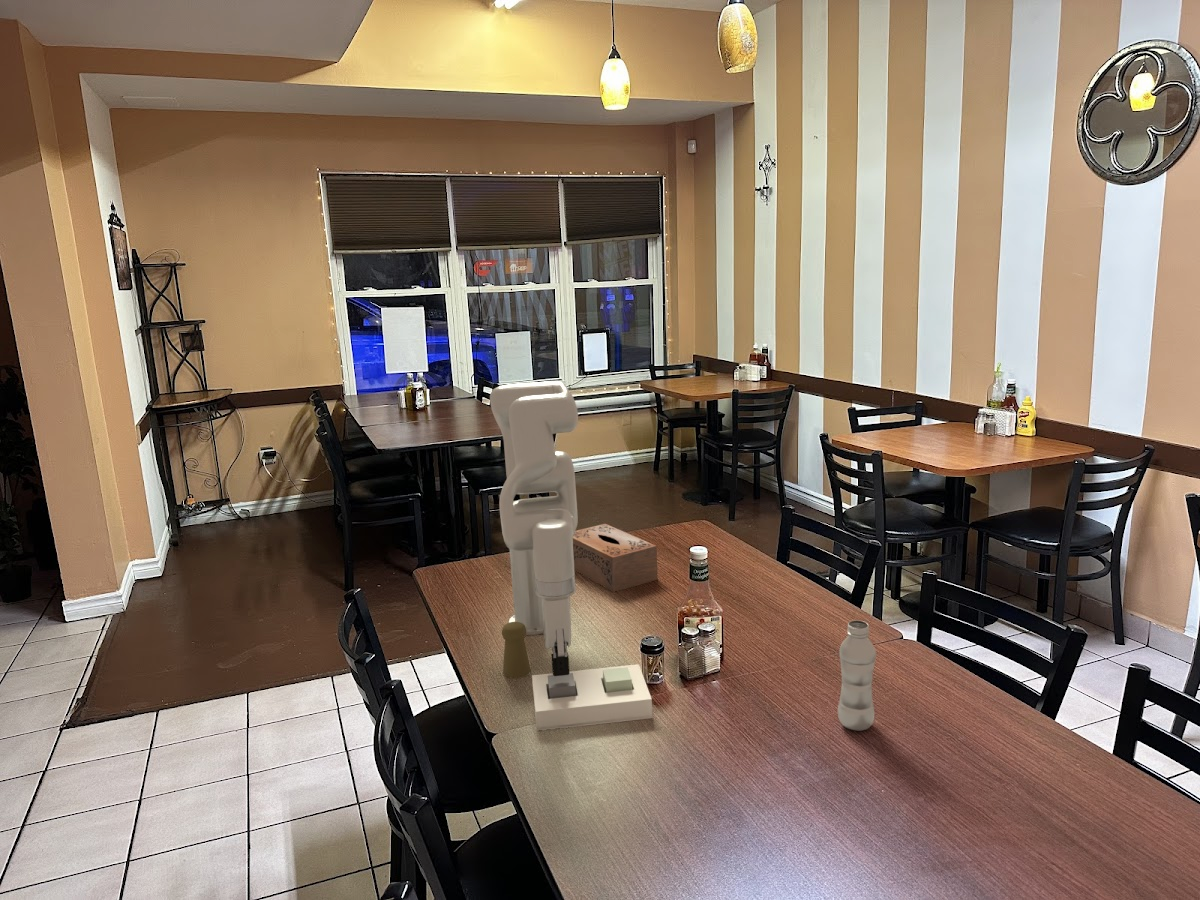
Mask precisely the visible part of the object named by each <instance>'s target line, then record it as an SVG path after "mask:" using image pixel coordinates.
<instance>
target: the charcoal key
mask: <svg viewBox="0 0 1200 900" xmlns="http://www.w3.org/2000/svg"><path fill="white" fill-rule="evenodd" d="M548 689H549V697H550V699H553V698H562V697H571V696H576V689H575V681H574V677H573V673H569V675H562V676H553V675H548Z"/></svg>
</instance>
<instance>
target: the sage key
mask: <svg viewBox="0 0 1200 900" xmlns="http://www.w3.org/2000/svg"><path fill="white" fill-rule="evenodd" d="M603 684H604V688H605V691H606V693H608V692H617V691H626V690H632V679H631V676H630V673H629V670H628V667H625V668H615V669H606V670H603Z"/></svg>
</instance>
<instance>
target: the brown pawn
mask: <svg viewBox="0 0 1200 900" xmlns="http://www.w3.org/2000/svg"><path fill="white" fill-rule="evenodd" d="M501 635H502V638H503V640H504V653H503V665H502V675H503V676H504V677H506V678H509V679H522V678H524V677H527V676H528V675H530V673H531V672H532V667H531V664H530V659H529V653H528V650H527V644H526V640H525V638H526V636H527V635H526V627H525V625H524V624H523V623H520V622H510V623H509V622H507V623H505V624H504V625H503V627H502V630H501Z"/></svg>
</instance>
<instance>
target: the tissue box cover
mask: <svg viewBox="0 0 1200 900" xmlns="http://www.w3.org/2000/svg"><path fill="white" fill-rule="evenodd" d="M573 554H574V571H575V572H576V573H578V572H579V573H578V574H580V573H581V574H580V575H582V574H583V575H582V576H584V577H586V578H588V579H590V580H591V581H593V582H595V583H597V584H598V583H599V584H598V585H600V584H601V585H600V586H602V585H603V586H602V587H604V586H605V587H604V588H605V589H607V588H608V590H609V589H610V590H609V591H611V590H612V591H611V592H613V591H614V592H613V593H616V592H615V591H617V592H619V590H620V591H623V590H626V589H629V588H633V587H637V586H639V585H643V584H647V583H651V582H653V581H656V580H658V546H657V545H655V544H653V543H651V542H648V541H646V540H644V539H642V538H640V537H638V536H635V535H633V534H630V533H628V532H625V531H624V530H621V529H619V528H616V527H614V526H611V525H609V524H607V523H601V524H598V525H593V526H590V527H585V528H581V529H578V530H577V529H576V530H575V535H574V536H573ZM622 589H623V590H622Z"/></svg>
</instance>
